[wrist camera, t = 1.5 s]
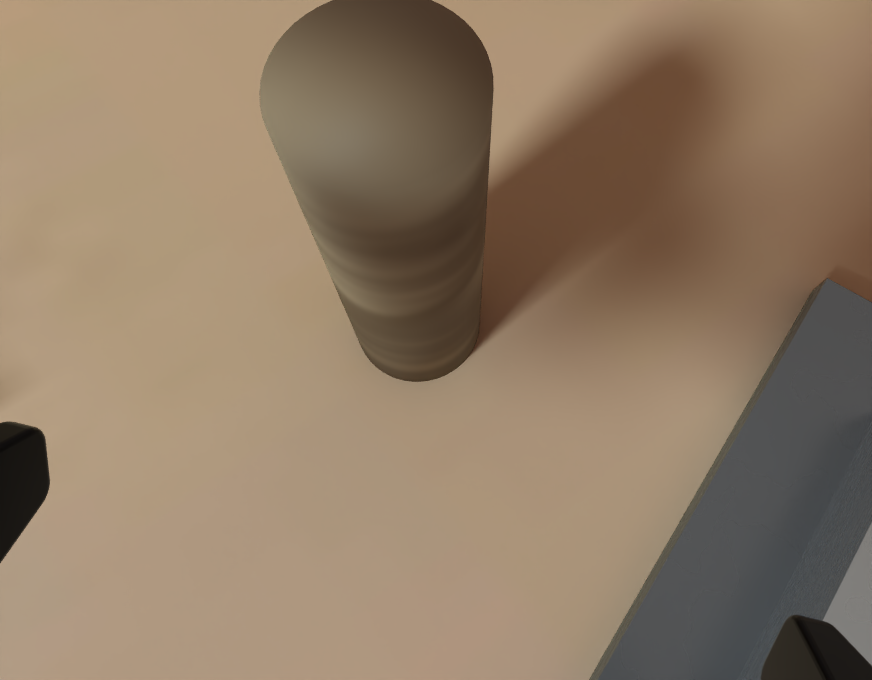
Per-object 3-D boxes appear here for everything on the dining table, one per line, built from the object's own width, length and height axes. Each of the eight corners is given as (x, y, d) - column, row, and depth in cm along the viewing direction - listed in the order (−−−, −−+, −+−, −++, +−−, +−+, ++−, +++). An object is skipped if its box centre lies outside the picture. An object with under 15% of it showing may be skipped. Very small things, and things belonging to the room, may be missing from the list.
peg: (433, 405, 23) (403, 232, 12) (332, 338, 24) (212, 114, 12) (503, 306, 24) (538, 55, 13) (403, 244, 25) (351, -42, 13)
